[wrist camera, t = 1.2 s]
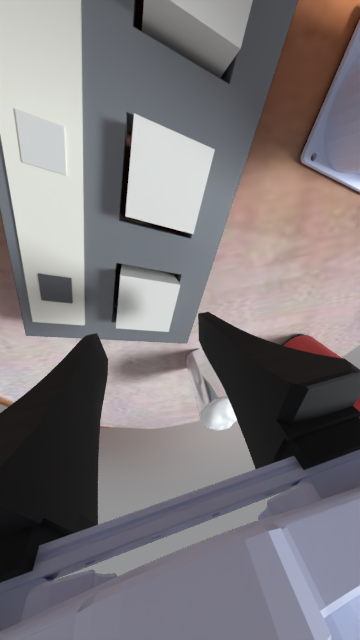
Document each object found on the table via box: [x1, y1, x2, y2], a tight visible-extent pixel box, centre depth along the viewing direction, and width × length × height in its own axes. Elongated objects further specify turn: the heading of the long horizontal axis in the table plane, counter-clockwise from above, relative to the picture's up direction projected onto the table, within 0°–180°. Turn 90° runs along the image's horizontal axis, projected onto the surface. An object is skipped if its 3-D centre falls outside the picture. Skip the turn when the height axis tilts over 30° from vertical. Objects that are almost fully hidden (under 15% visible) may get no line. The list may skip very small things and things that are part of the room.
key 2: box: [116, 264, 180, 332], centre depth 15 cm, size 4×4×3 cm
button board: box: [0, 0, 298, 343], centre depth 12 cm, size 14×25×3 cm, turn 166°
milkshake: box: [186, 349, 237, 430], centre depth 21 cm, size 4×5×10 cm
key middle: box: [125, 113, 215, 234], centre depth 12 cm, size 4×4×3 cm
